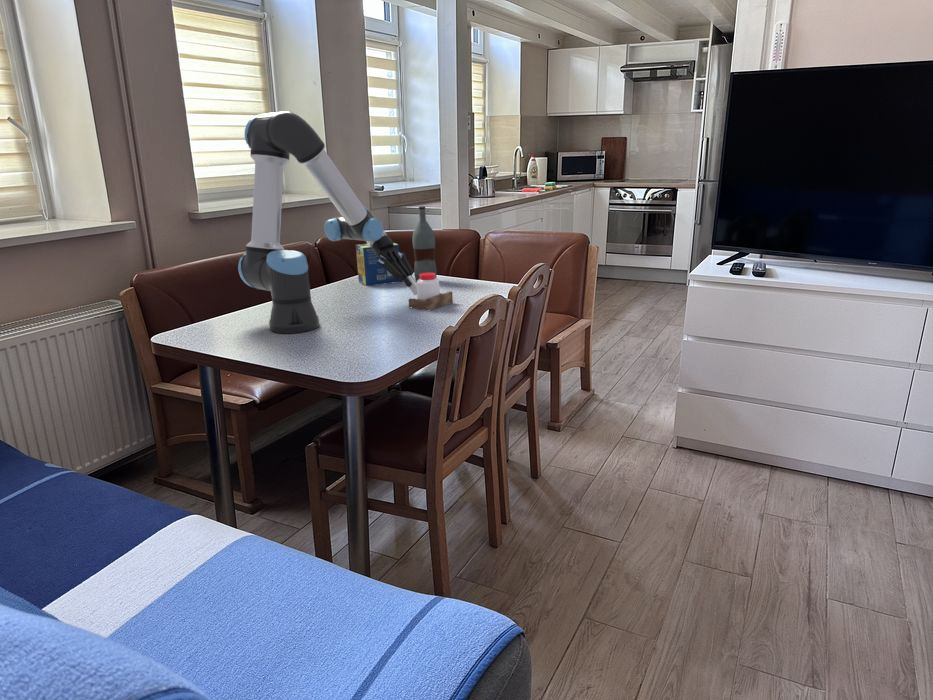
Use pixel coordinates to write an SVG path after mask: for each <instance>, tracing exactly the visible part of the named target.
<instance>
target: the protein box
mask: <svg viewBox="0 0 933 700" xmlns="http://www.w3.org/2000/svg"><path fill="white" fill-rule="evenodd" d="M393 243H394V248H395V249H396V250H397V251H398V252H399V253H400V245H399V244H398V243H395V242H393ZM355 251H356V254H355V255H356V264H357V266H356V267H357V276H358V282H359V283H360V282H361V284H363V285H364V286H365V287H368V286H367V285H370V286H376V285H375V284H378V285H385V284H384V283H386V284H392V282H395V283H401V282H400V281H401V280H397V279H395V278H394V277H393V276H392V275H391V274H390V273H389V272H388V271H387V270H386V269H385V268H384V267H383V266H382V265H380V264H379V263H378V262H377V261H378V260H379V259H380V257H379V256H377V255H376V254H375V253H374V252H373V250H372V247H370V246H369V245H368V243H362V244H361V243H360V244H355ZM397 276H398V275H397Z"/></svg>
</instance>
